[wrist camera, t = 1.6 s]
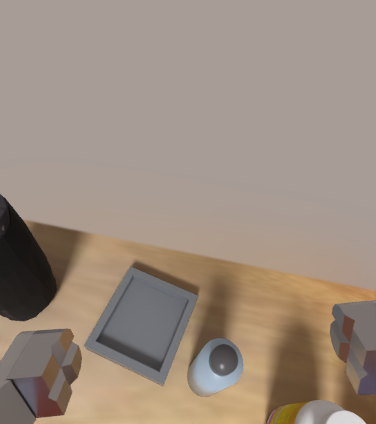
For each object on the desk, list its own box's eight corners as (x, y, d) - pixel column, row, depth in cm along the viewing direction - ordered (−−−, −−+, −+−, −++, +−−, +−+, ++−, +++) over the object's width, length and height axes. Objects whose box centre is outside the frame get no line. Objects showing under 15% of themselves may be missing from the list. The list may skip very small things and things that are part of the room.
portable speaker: (17, 258, 45) (-52, 166, 29) (73, 278, 44) (33, 194, 28) (-23, 312, 39) (-133, 235, 24) (40, 335, 39) (-32, 270, 23)
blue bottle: (182, 387, 37) (195, 372, 27) (194, 352, 39) (210, 327, 29) (214, 403, 36) (240, 394, 26) (224, 366, 39) (252, 345, 29)
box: (86, 349, 38) (83, 345, 37) (131, 272, 45) (130, 266, 44) (162, 386, 37) (163, 384, 35) (196, 300, 44) (198, 295, 42)
